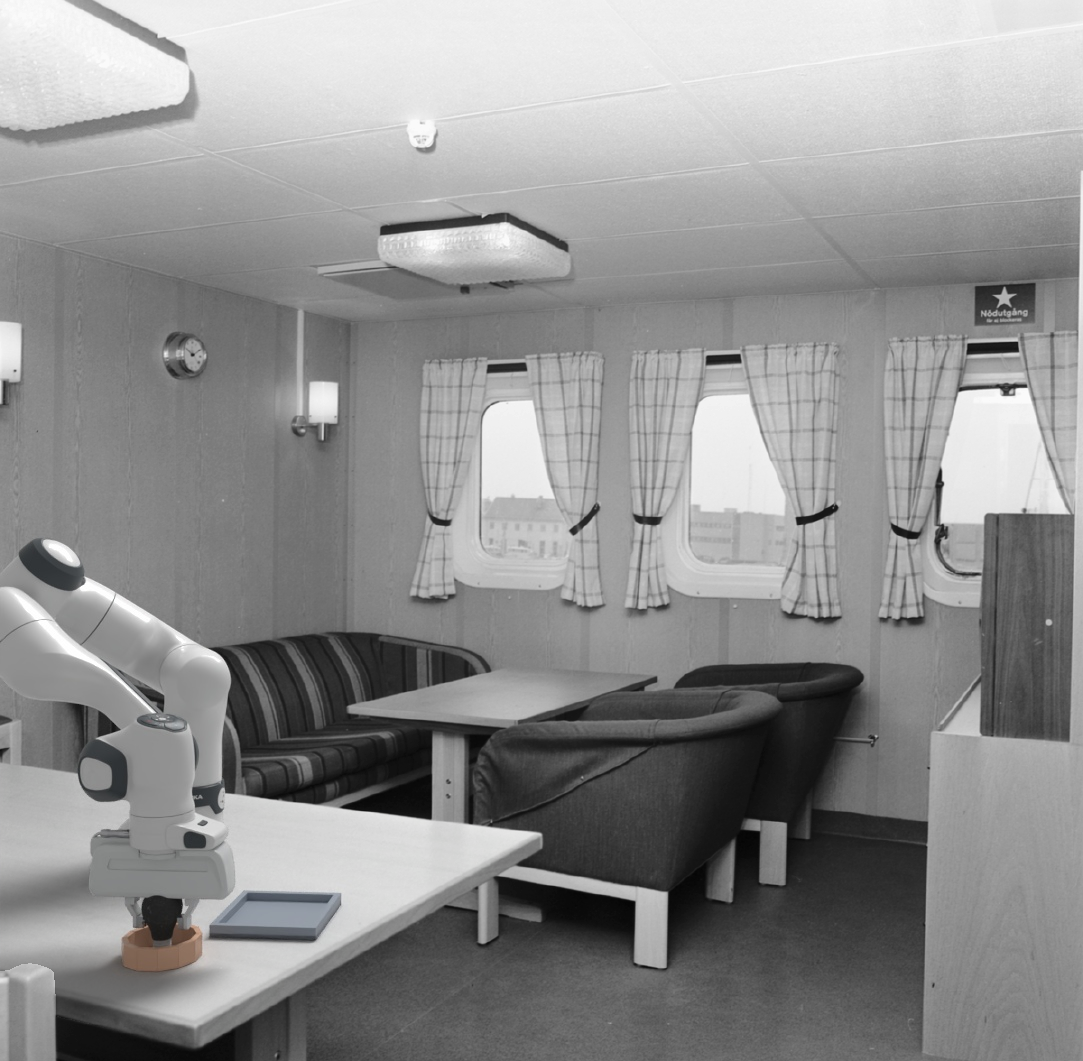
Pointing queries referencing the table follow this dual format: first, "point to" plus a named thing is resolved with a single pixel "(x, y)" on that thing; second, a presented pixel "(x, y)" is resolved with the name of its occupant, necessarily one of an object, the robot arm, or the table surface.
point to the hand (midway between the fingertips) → (162, 927)
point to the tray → (276, 915)
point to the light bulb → (161, 917)
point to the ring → (160, 949)
